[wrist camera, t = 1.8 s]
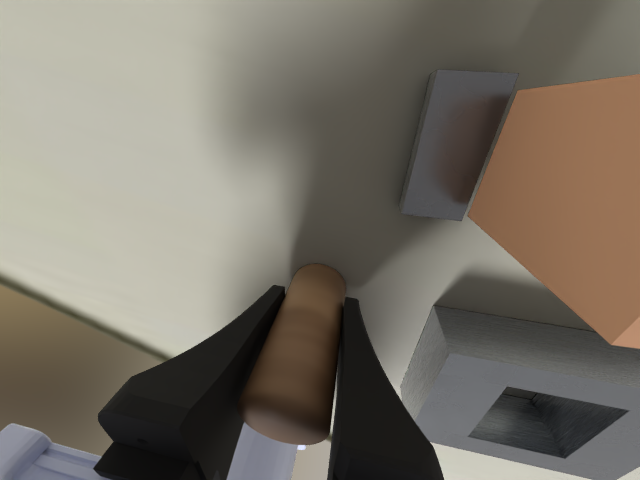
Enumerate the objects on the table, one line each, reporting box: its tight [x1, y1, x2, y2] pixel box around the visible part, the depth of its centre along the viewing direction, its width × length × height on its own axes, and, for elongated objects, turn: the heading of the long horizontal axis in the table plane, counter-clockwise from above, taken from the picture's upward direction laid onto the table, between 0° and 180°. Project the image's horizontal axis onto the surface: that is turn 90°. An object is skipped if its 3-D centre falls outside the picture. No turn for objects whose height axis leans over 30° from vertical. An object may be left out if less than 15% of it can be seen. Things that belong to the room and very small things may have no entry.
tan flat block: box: [468, 74, 640, 349], centre depth 5 cm, size 4×1×6 cm, turn 177°
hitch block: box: [400, 305, 640, 480], centre depth 13 cm, size 8×11×3 cm
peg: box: [237, 264, 346, 445], centre depth 11 cm, size 3×3×7 cm
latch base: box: [399, 70, 519, 221], centre depth 9 cm, size 5×2×1 cm, turn 176°
